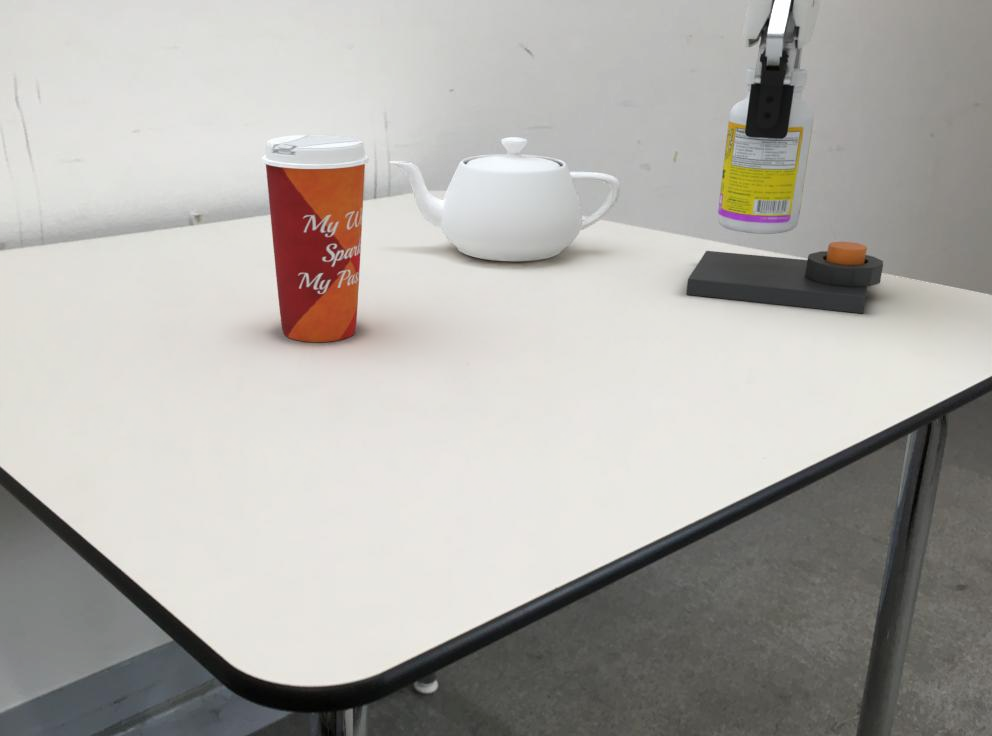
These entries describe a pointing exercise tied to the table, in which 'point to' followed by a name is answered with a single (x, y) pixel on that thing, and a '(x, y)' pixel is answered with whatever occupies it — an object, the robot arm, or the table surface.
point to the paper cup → (316, 232)
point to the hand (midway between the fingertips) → (769, 129)
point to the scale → (785, 280)
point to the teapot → (510, 204)
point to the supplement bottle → (765, 168)
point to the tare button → (846, 253)
